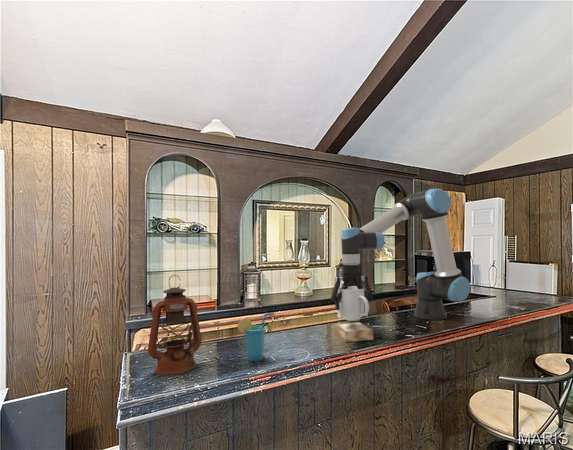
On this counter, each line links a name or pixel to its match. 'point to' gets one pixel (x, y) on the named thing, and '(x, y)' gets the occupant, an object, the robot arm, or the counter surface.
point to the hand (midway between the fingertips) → (352, 316)
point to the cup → (254, 337)
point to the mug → (353, 303)
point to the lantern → (176, 355)
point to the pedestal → (353, 332)
